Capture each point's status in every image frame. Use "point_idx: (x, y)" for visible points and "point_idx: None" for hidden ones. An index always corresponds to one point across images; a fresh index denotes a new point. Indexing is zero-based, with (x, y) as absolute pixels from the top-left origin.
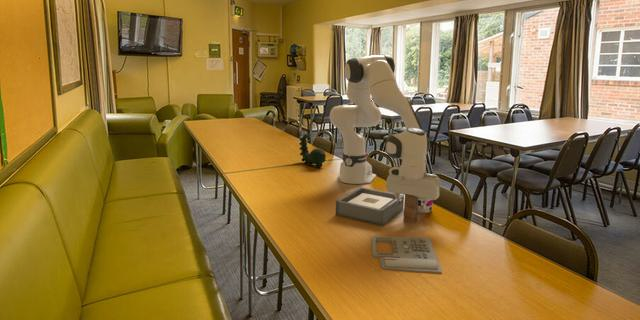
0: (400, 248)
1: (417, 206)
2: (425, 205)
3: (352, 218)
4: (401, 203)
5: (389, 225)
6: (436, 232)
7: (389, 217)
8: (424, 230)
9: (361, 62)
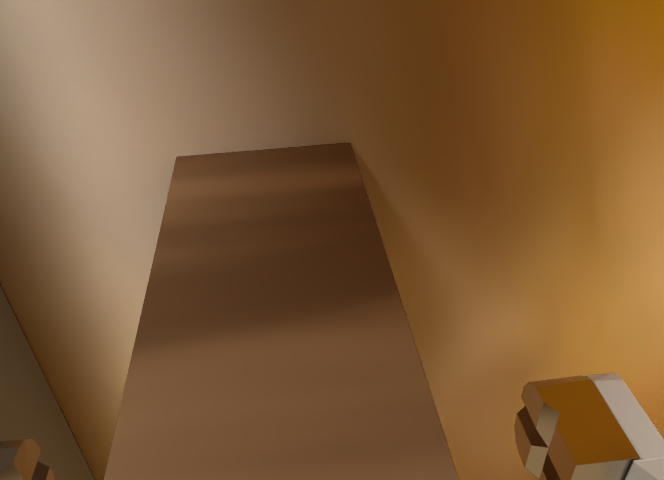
0: None
1: (403, 328)
2: (646, 445)
3: None
4: (35, 465)
5: None
6: (656, 328)
7: (23, 389)
8: (527, 355)
9: None
